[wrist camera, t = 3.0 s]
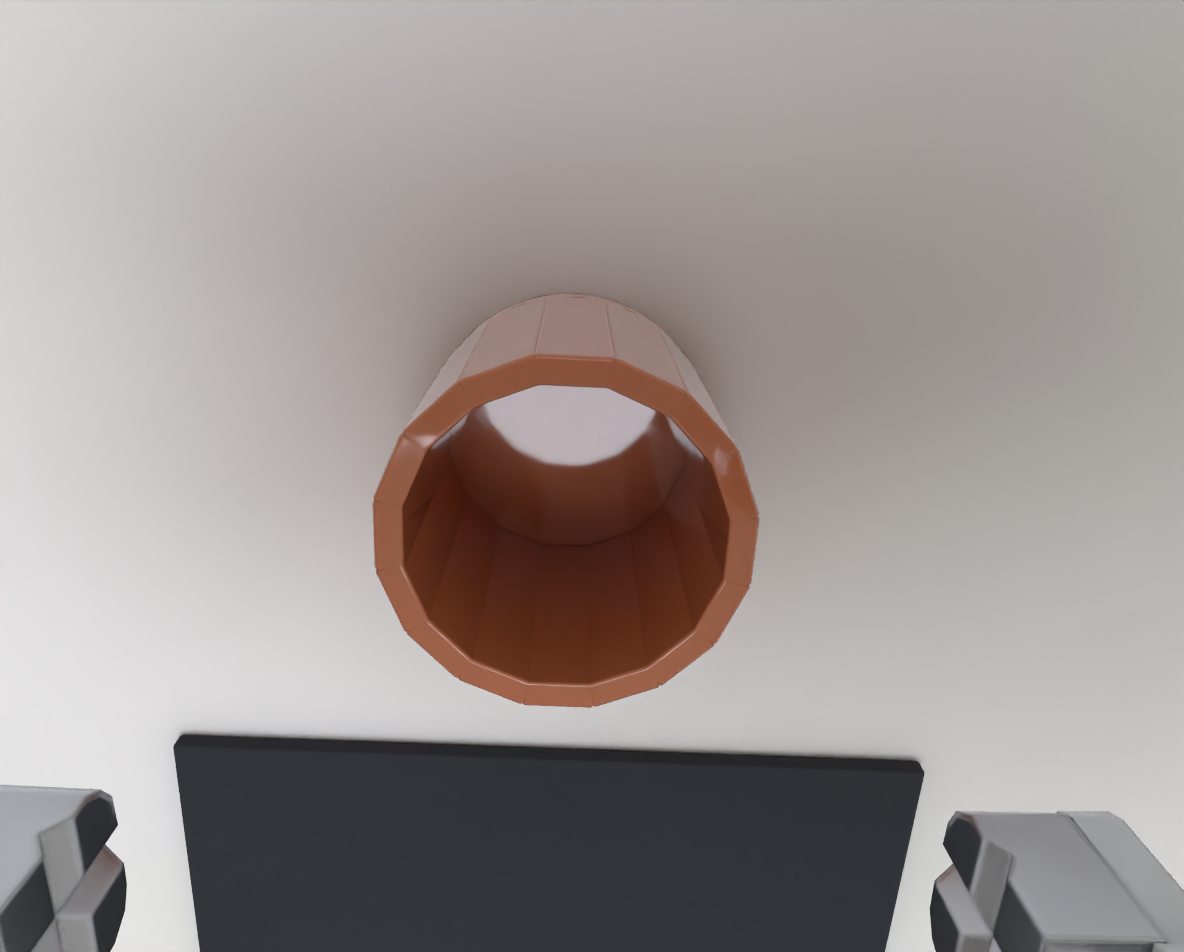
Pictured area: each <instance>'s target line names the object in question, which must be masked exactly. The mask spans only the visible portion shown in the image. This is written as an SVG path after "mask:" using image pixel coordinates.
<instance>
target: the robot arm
mask: <svg viewBox="0 0 1184 952" xmlns="http://www.w3.org/2000/svg"><path fill="white" fill-rule="evenodd" d="M117 826H118V823H117V819H116V814H115V809H114V804H113V799H112V796H110V795H109V794H107V793H105V792H104V791H102V790H98V789H77V788H56V787H35V786H14V785H0V952H110V951H111V949H112V947H113V946H114V944H115V941H116V938H117V934H118V931H119V928H120V925H121V921H122V918H123V915H124V911H125V902H126V888H127V883H126V876H125V868H124V863H123V862H122V861H121V860H120V859H119V858H118V857H117V856H116V855H115V854H114V853H113V852H112V851H111V850H110V849H109V848H108V847H107V846H106V845H105V843H106V842H107V840H108V839H109V837H110V836H111V834H112V833H113V831H114V830H115V828H116V827H117ZM943 845H944V847H945V849H946V851H947V853H948V854H949V856H950V858H951V860H952V862H953V864H952V865H951V866H950V867H949V868H948V869H947V870H946V871H945V872H944V873H942V874H941V875H940V876H939V877H938V878H937V879H936V880H935V883H934V888H933V894H932V900H931V905H930V916H931V929H932V939H933V943H934V947H935V950H936V952H1184V890H1183V889H1182V888H1181V887H1180V886H1179V885H1178V883H1177V882H1176V881H1175V880H1174V879H1173V878H1172V876H1171V875H1170V874H1169V873H1168V872H1167V871H1166V869H1165V868H1164V867H1163V866H1162V865H1161V863H1160V862H1159V861H1158V860H1157V859H1156V858H1155V856H1154V855H1153V854H1152V853H1151V852H1150V851H1149V849H1148V848H1147V847H1146V846H1145V845H1144V844H1143V842H1142V841H1141V840H1140V839H1139V838H1138V837H1137V835H1136V834H1135V833H1134V832H1133V831H1132V830H1131V828H1130V827H1129V826H1128V825H1127V824H1126V823H1125V821H1124V820H1122V819H1121V818H1119V817H1117V816H1116V815H1114V814H1112V813H1110V812H1108V811H1058V812H1056V813H1040V812H985V811H956V812H955V813H954V815H953V816H952V818H951V819H950V821H949V822H948V825H947V829H946V833H945V837H944V842H943Z"/></svg>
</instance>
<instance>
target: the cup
mask: <svg viewBox="0 0 1184 952" xmlns="http://www.w3.org/2000/svg"><path fill="white" fill-rule="evenodd" d="M372 506H373V535H374V564H375V569H376V573H377V575H378V577H379V579H380V582H381V584H382V586H383V588H384V590H385V592H386V594H387V596H388V598H389V600H390V602H391V604H392V606H393V608H394V610H395V612H396V614H397V616H398V619H399V621H400V623H401V625H402V627H403V629H404V630H405V631H407V634H408V635H409V636H410V637H411V638H412V639H413V640H414V641H415V642H416V643H418V644H419V645H420V646H421V647H422V648H423V649H424V650H425V651H427V652H428V653H429V654H430V655H431V656H432V657H433V658H434V659H435V660H437V661H438V662H439V663H440V664H441V665H442V666H443V667H444V668H446V669H447V670H448V671H449V672H450V673H451V674H452V675H453V676H454V677H456V678H457V677H458V678H459V680H461V681H464V682H466V683H469V684H471V685H474V686H476V687H479V688H481V689H484V690H487V691H489V692H492V693H494V694H497V695H499V696H502V697H504V698H507V699H509V700H512V701H515V702H517V703H520V704H522V703H523V704H524V705H539V706H566V707H592V706H599V705H602V704H606V703H609V702H612V701H615V700H619V699H622V698H625V697H628V696H632V695H635V694H638V693H641V692H645V691H648V690H651V689H654V688H657V687H659V685H663V684H664V683H666V682H667V681H668V680H670V679H671V678H672V677H674V676H675V675H676V674H678V673H679V672H680V671H682V670H683V669H684V668H685V667H687V666H688V665H689V664H691V663H692V662H693V661H695V660H696V659H697V658H699V657H700V656H701V655H703V654H704V653H705V652H707V651H708V650H709V649H710V648H712V647H713V646H714V643H716V642H717V641H718V639H719V638H720V636H721V634H722V633H723V631H724V629H725V628H726V626H727V624H728V623H729V621H730V619H731V618H732V616H733V614H734V613H735V611H736V609H737V608H738V606H739V604H740V603H741V601H742V599H743V598H744V596H745V594H746V593H747V591H748V589H749V585H750V584H751V581H752V573H753V566H754V558H755V550H756V542H757V535H758V527H759V517H758V515H759V512H758V509H757V506H756V503H755V500H754V496H753V493H752V490H751V487H750V484H749V480H748V477H747V474H746V471H745V467H744V464H743V461H742V458H741V455H740V451H739V450H738V448H737V446H736V444H735V442H734V440H733V438H732V437H731V435H730V433H729V431H728V429H727V427H726V425H725V424H724V422H723V420H722V418H721V416H720V414H719V413H718V411H717V409H716V407H715V405H714V403H713V401H712V400H711V398H710V396H709V394H708V392H707V390H706V388H705V387H704V385H703V383H702V381H701V379H700V377H699V375H698V374H697V372H696V370H695V368H694V366H693V365H692V363H691V362H690V361H689V360H688V359H687V358H686V357H685V355H684V354H683V352H682V351H681V350H680V349H679V347H678V346H677V345H676V343H675V342H674V341H673V340H672V339H671V338H670V337H669V336H668V335H667V334H666V333H665V332H664V331H663V330H662V329H661V328H660V327H659V326H658V325H656V324H655V323H654V322H652V321H651V320H650V319H648V318H647V317H646V316H644V315H642V314H641V313H639V312H637V311H635V310H633V309H632V308H630V307H627V306H625V305H623V304H620V303H618V302H615V301H613V300H609V299H605V298H601V297H597V296H591V295H583V294H553V295H546V296H540V297H536V298H532V299H529V300H525V301H522V302H519V303H517V304H514V305H512V306H510V307H508V308H505V309H503V310H502V311H500V312H498V313H497V314H495V315H493V316H492V317H490V318H488V319H487V320H486V321H485V322H483V323H482V324H481V325H480V326H478V327H477V328H476V329H475V330H474V331H473V332H472V333H471V334H470V335H469V336H468V337H467V338H466V339H465V340H464V341H463V342H462V343H461V345H460V346H459V347H458V348H457V349H456V350H455V351H453V352H452V354H451V355H450V357H449V358H448V360H447V361H446V363H445V364H444V366H443V368H442V369H441V371H440V372H439V374H438V375H437V377H436V379H435V380H434V382H433V383H432V385H431V386H430V388H429V390H428V391H427V393H426V394H425V396H424V397H423V399H422V401H421V402H420V404H419V405H418V407H417V409H416V410H415V412H414V413H413V415H412V416H411V418H410V420H409V421H408V423H407V424H406V426H405V427H404V429H403V431H402V432H401V434H400V435H399V438H398V440H397V442H396V445H395V447H394V449H393V452H392V454H391V457H390V459H389V461H388V464H387V466H386V468H385V471H384V473H383V475H382V478H381V480H380V482H379V485H378V487H377V490H376V492H375V494H374V500H373V503H372Z"/></svg>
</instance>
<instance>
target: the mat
mask: <svg viewBox="0 0 1184 952" xmlns="http://www.w3.org/2000/svg"><path fill="white" fill-rule="evenodd" d="M174 755H175V762H176V770H177V778H178V785H179V793H180V801H181V808H182V816H183V824H184V831H185V839H186V847H187V854H188V862H189V870H190V877H191V885H192V893H193V900H194V908H195V916H196V923H197V931H198V939H199V946H200V952H885V949H886V944H887V940H888V935H889V931H890V926H891V922H892V917H893V913H894V908H895V904H896V899H897V894H898V890H899V885H900V881H901V876H902V872H903V867H904V863H905V858H906V854H907V849H908V845H909V840H910V836H911V831H912V827H913V822H914V818H915V813H916V809H917V804H918V800H919V795H920V791H921V786H922V782H923V777H924V771H923V769H922V767H921V766H920V764H919V762H916V761H888V760H859V759H831V758H803V757H775V756H747V755H719V754H691V753H662V752H634V751H606V750H578V749H550V748H522V747H494V746H466V745H437V744H409V743H381V742H353V741H325V740H297V739H269V738H240V737H212V736H184V735H182V736H180V737H179V739H178V740H177V742H176V743H175V745H174Z"/></svg>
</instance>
